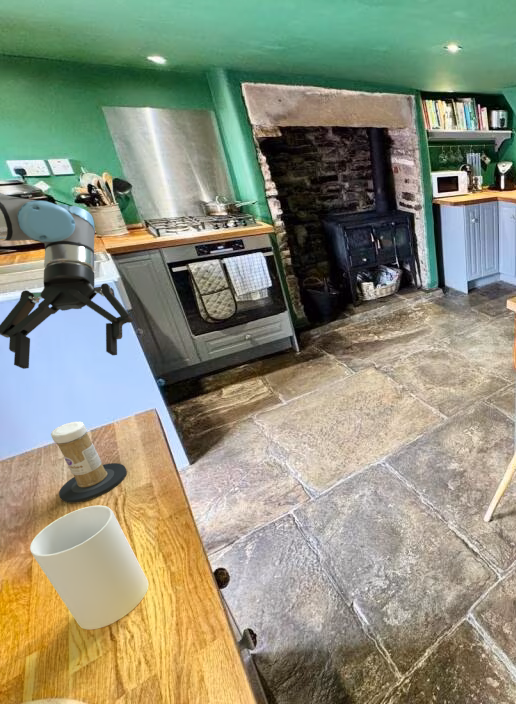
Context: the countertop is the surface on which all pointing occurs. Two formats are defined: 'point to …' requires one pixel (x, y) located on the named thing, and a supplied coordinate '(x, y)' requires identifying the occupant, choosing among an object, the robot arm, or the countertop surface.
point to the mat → (79, 494)
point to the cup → (91, 566)
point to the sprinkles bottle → (79, 453)
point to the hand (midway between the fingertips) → (68, 359)
